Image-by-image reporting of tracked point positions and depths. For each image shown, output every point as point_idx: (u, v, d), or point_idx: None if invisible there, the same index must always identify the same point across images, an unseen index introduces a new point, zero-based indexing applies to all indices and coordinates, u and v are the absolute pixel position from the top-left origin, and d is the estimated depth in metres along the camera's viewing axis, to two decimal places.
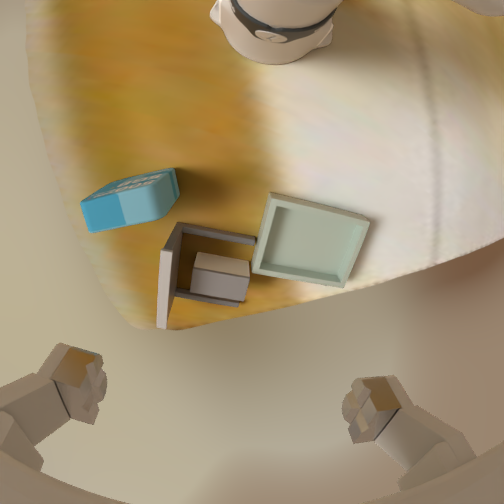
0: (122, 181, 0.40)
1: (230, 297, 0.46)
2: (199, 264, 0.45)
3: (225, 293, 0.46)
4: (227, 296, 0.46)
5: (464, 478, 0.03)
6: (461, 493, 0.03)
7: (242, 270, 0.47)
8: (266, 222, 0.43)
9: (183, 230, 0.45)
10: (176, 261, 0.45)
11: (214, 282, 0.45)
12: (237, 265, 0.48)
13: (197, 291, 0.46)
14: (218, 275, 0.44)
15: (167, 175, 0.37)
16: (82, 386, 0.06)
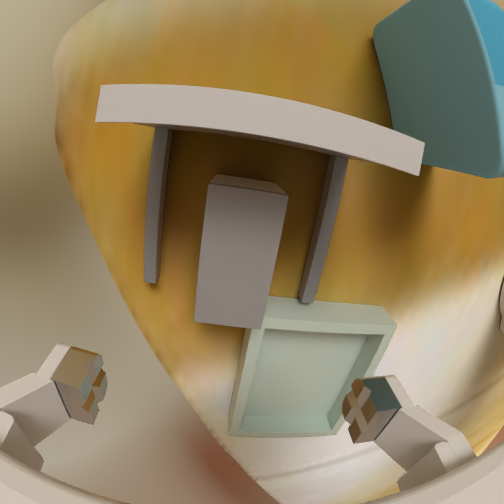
0: None
1: (201, 292, 0.18)
2: None
3: (213, 280, 0.17)
4: (204, 285, 0.17)
5: (464, 478, 0.03)
6: (461, 493, 0.03)
7: None
8: (360, 325, 0.22)
9: (340, 159, 0.19)
10: (284, 142, 0.17)
11: (246, 252, 0.17)
12: None
13: (212, 206, 0.16)
14: (268, 262, 0.17)
15: None
16: (82, 386, 0.06)
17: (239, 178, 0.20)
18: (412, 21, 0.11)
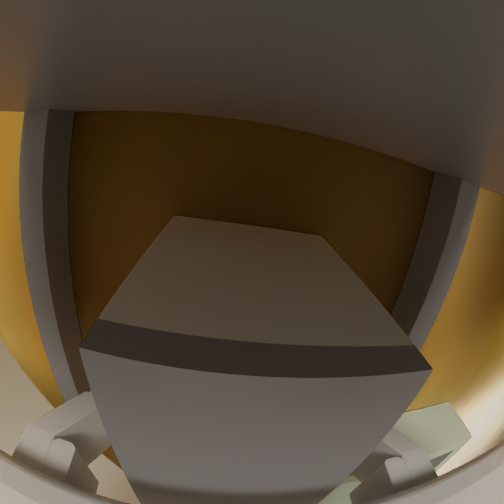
0: None
1: None
2: None
3: None
4: None
5: (464, 478, 0.03)
6: (461, 493, 0.03)
7: None
8: (429, 455, 0.10)
9: (467, 188, 0.07)
10: (392, 134, 0.04)
11: (259, 491, 0.04)
12: None
13: (123, 417, 0.03)
14: (318, 492, 0.04)
15: None
16: None
17: (232, 233, 0.07)
18: None
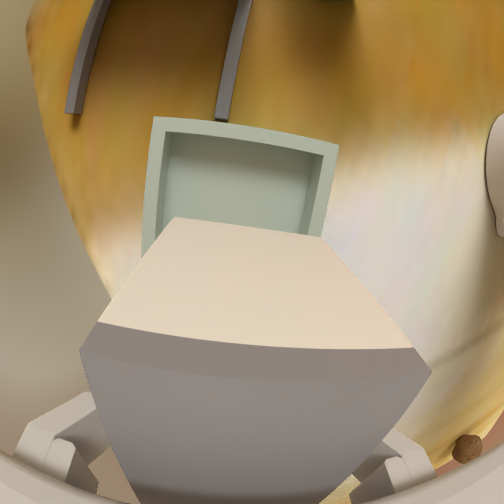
0: None
1: None
2: None
3: None
4: None
5: (464, 478, 0.03)
6: (461, 493, 0.03)
7: None
8: (285, 135, 0.18)
9: None
10: None
11: (259, 492, 0.04)
12: None
13: (123, 419, 0.03)
14: (317, 493, 0.04)
15: None
16: None
17: (232, 235, 0.07)
18: None
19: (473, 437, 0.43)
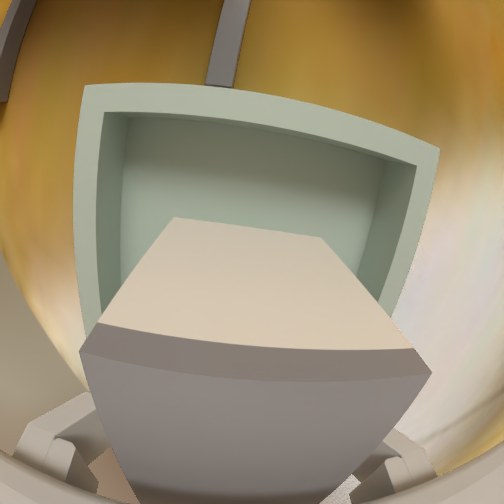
0: None
1: None
2: None
3: None
4: None
5: (464, 478, 0.03)
6: (461, 493, 0.03)
7: None
8: (352, 120, 0.08)
9: None
10: None
11: (259, 492, 0.04)
12: None
13: (123, 420, 0.03)
14: (317, 493, 0.04)
15: None
16: None
17: (232, 235, 0.07)
18: None
19: None
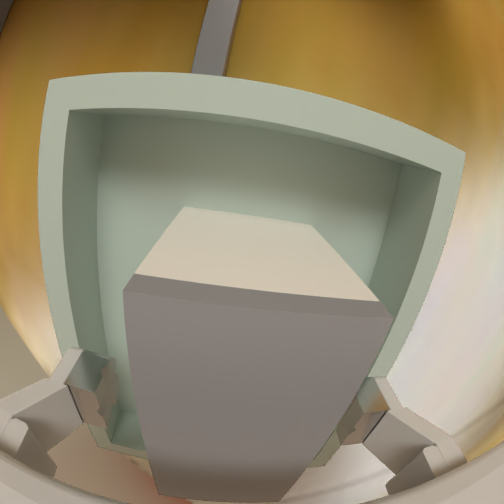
0: None
1: (162, 475, 0.06)
2: None
3: (182, 467, 0.06)
4: (165, 470, 0.06)
5: (464, 478, 0.03)
6: (461, 493, 0.03)
7: None
8: (369, 116, 0.06)
9: None
10: None
11: (257, 440, 0.06)
12: None
13: (148, 354, 0.04)
14: (309, 446, 0.06)
15: None
16: (97, 390, 0.06)
17: (234, 220, 0.09)
18: None
19: None
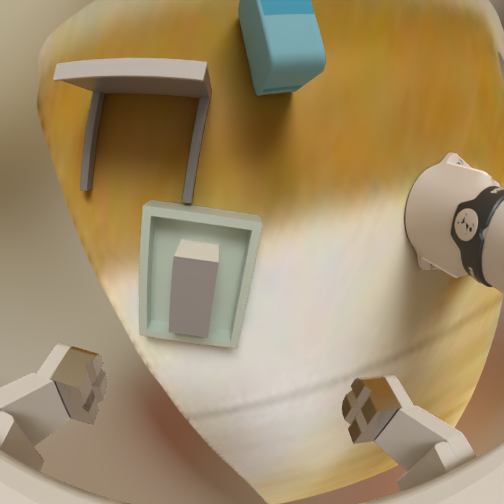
0: None
1: (172, 315, 0.30)
2: None
3: (178, 309, 0.29)
4: (173, 311, 0.29)
5: (464, 478, 0.03)
6: (461, 493, 0.03)
7: None
8: (226, 218, 0.30)
9: (203, 98, 0.27)
10: (157, 88, 0.24)
11: (196, 294, 0.29)
12: None
13: (175, 270, 0.28)
14: (209, 299, 0.29)
15: None
16: (82, 386, 0.06)
17: (195, 244, 0.32)
18: None
19: None
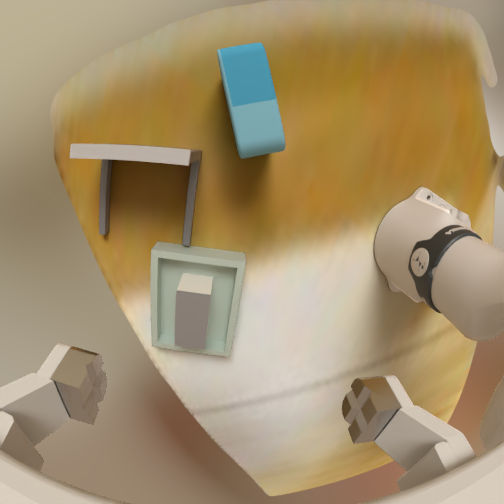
0: None
1: (176, 333, 0.38)
2: (210, 296, 0.38)
3: (181, 328, 0.38)
4: (177, 330, 0.38)
5: (464, 478, 0.03)
6: (461, 493, 0.03)
7: (206, 334, 0.41)
8: (216, 259, 0.38)
9: (194, 160, 0.35)
10: None
11: (194, 318, 0.37)
12: (207, 325, 0.42)
13: (178, 300, 0.36)
14: (204, 322, 0.38)
15: None
16: (82, 386, 0.06)
17: (193, 277, 0.41)
18: (221, 73, 0.27)
19: None
